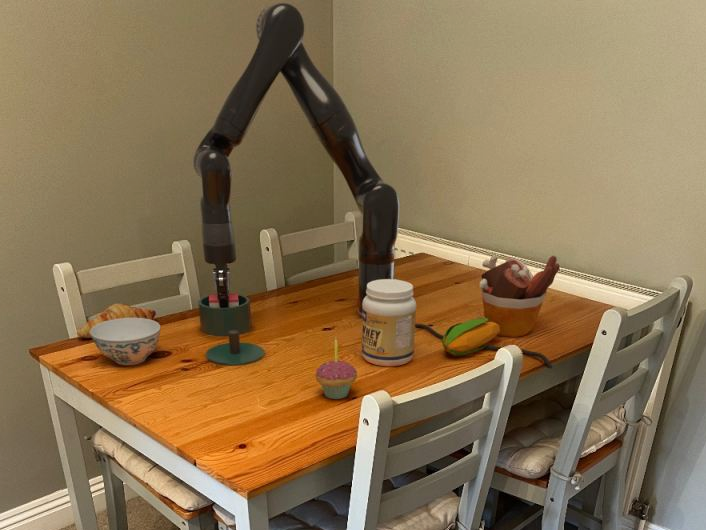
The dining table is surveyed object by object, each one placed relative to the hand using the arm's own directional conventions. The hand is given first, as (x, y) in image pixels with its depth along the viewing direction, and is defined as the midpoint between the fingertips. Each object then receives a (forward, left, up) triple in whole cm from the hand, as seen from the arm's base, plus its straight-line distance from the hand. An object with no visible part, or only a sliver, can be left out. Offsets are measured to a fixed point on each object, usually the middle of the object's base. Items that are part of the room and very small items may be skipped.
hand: (225, 311), depth 185 cm
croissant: (+23, +14, -5) cm, 27 cm away
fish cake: (0, 0, 0) cm, 0 cm away
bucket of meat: (-63, -36, -5) cm, 73 cm away
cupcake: (-44, +21, -5) cm, 49 cm away
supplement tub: (-44, -3, -5) cm, 44 cm away
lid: (-13, +14, -4) cm, 20 cm away
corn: (-59, -18, -5) cm, 62 cm away
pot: (0, 0, -5) cm, 5 cm away
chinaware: (+6, +28, -5) cm, 29 cm away
